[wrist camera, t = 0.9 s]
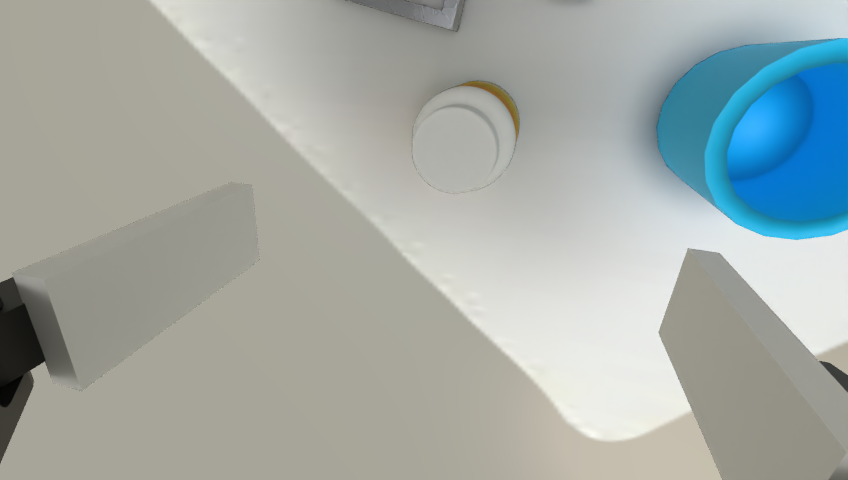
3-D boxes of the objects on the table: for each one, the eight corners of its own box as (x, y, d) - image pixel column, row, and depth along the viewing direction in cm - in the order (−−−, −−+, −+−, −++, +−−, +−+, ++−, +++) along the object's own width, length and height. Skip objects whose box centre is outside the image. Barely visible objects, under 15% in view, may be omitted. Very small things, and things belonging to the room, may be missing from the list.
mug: (650, 192, 27) (692, 240, 20) (663, 53, 24) (717, 51, 17) (882, 184, 24) (1032, 238, 17) (929, 25, 21) (1134, 7, 14)
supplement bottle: (467, 62, 27) (435, 63, 18) (537, 111, 27) (538, 135, 18) (423, 135, 29) (376, 166, 21) (487, 179, 30) (468, 229, 21)
